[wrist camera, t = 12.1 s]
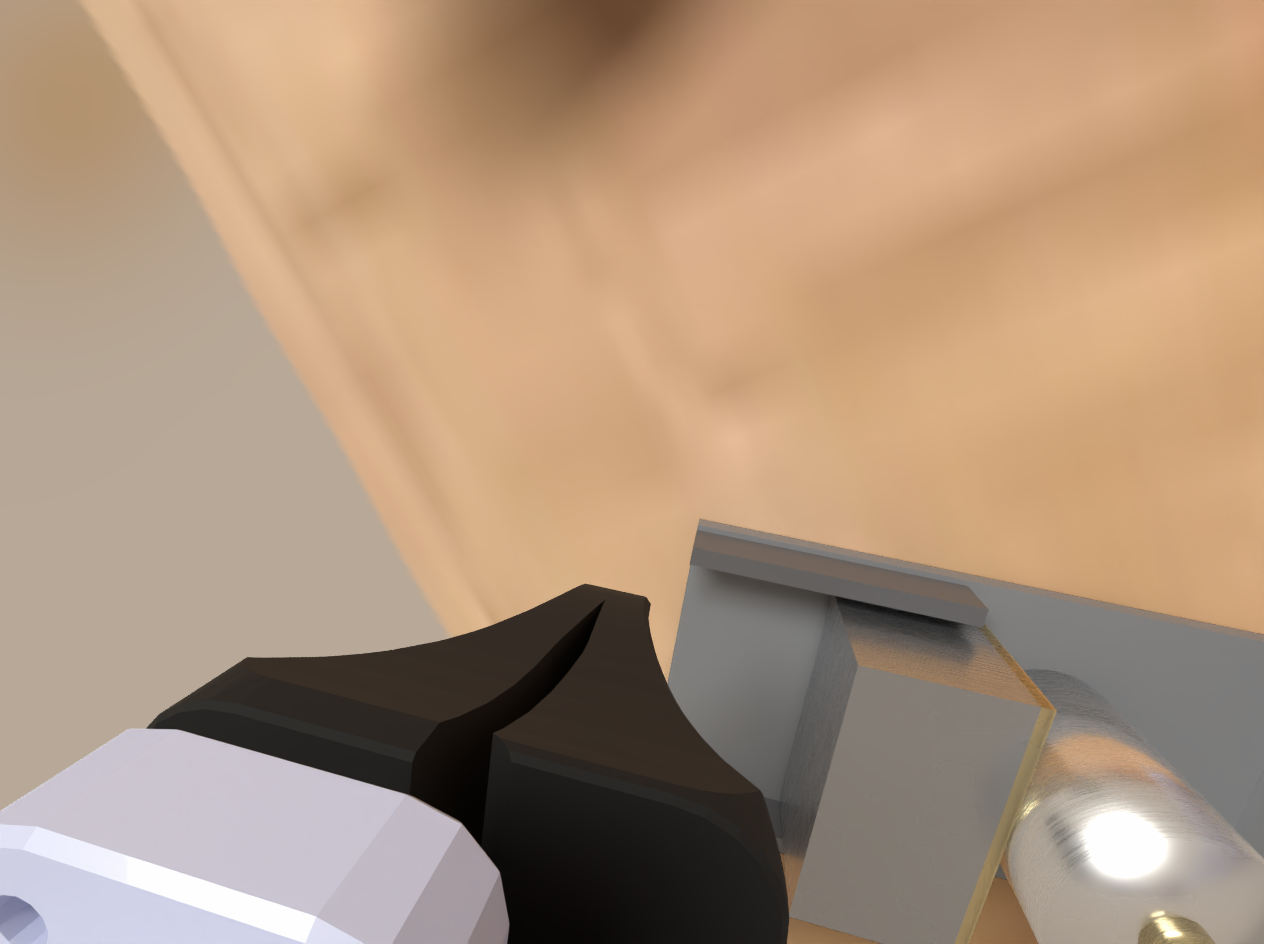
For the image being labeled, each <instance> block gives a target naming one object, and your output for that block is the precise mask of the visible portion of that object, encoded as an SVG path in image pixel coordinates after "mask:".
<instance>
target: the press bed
mask: <svg viewBox="0 0 1264 944" xmlns="http://www.w3.org/2000/svg"><path fill="white" fill-rule="evenodd" d="M832 595H834V596H838V597H843V598H848V599H852V600H857V601H861V602H866V603H871V604H875V605H880V606H885V607H889V608H894V609H899V610H903V611H908V612H913V613H917V614H922V615H926V616H931V617H936V618H940V619H945V620H950V621H954V622H959V623H964V624H968V625H973V626H978V627H982V628H983V626H984V624H986V626H987V627H988V628H989V629H990V631H991V632H992V633H993V634H994V635H995V637H996V638H997V639H998V640H999V641H1000V643H1001V644H1002V645H1003V646H1004V647H1005V649H1006V650H1007V651H1008V652H1009V653H1010V655H1011V656H1012V657H1013V658H1014V659H1015V661H1016V662H1017V663H1018V664H1019V666H1020V667H1021V668H1022V669H1023V670H1026V669H1043V670H1051V671H1057V672H1061V673H1065V674H1068V675H1070V676H1073V677H1076V678H1078V679H1080V680H1082V681H1084V682H1086V683H1087V684H1089V685H1090V686H1092V687H1093V688H1095V689H1096V690H1097V691H1098V692H1099V693H1100V694H1102V695H1103V696H1104V697H1105V698H1106V699H1107V700H1108V701H1109V702H1110V703H1111V704H1112V705H1113V706H1114V707H1115V708H1116V709H1117V710H1118V711H1119V712H1120V713H1121V714H1122V715H1123V716H1124V717H1125V718H1126V719H1127V720H1128V721H1129V722H1130V723H1131V725H1132V726H1133V727H1134V728H1135V729H1136V730H1137V731H1138V732H1139V733H1140V734H1141V735H1142V736H1143V737H1144V738H1145V739H1146V740H1147V741H1148V742H1149V743H1150V744H1151V745H1152V746H1153V747H1154V748H1155V749H1156V750H1157V751H1158V752H1159V753H1160V754H1161V755H1162V756H1163V757H1164V758H1165V759H1166V760H1167V761H1168V762H1169V763H1170V764H1171V765H1172V766H1173V767H1174V768H1175V769H1176V770H1177V771H1178V772H1179V773H1180V774H1181V775H1182V776H1183V777H1184V778H1185V779H1186V780H1187V781H1188V782H1189V783H1190V784H1191V785H1192V786H1193V787H1194V788H1195V789H1196V790H1197V791H1198V792H1199V793H1200V794H1201V795H1202V796H1203V797H1204V798H1205V799H1206V800H1207V801H1208V802H1209V803H1210V804H1211V805H1212V806H1213V807H1214V808H1215V809H1216V810H1217V811H1218V812H1219V813H1220V814H1221V815H1222V816H1223V817H1224V818H1225V820H1226V821H1227V822H1228V823H1229V824H1230V825H1231V826H1232V827H1233V828H1234V829H1235V830H1236V831H1237V832H1238V833H1239V834H1240V835H1241V836H1242V837H1243V838H1244V839H1245V840H1246V841H1247V842H1248V843H1249V844H1250V845H1251V846H1252V847H1253V848H1254V849H1255V850H1256V851H1257V852H1258V853H1259V854H1260V855H1261V856H1262V857H1263V858H1264V635H1263V634H1258V633H1253V632H1249V631H1244V630H1239V629H1234V628H1229V627H1224V626H1219V625H1214V624H1209V623H1205V622H1200V621H1195V620H1190V619H1185V618H1180V617H1175V616H1170V615H1166V614H1161V613H1156V612H1151V611H1146V610H1141V609H1136V608H1131V607H1126V606H1122V605H1117V604H1112V603H1107V602H1102V601H1097V600H1092V599H1087V598H1083V597H1078V596H1073V595H1068V594H1063V593H1058V592H1053V591H1048V590H1043V589H1039V588H1034V587H1029V586H1024V585H1019V584H1014V583H1009V582H1004V581H1000V580H995V579H990V578H985V577H980V576H975V575H970V574H965V573H960V572H956V571H951V570H946V569H941V568H936V567H931V566H926V565H921V564H917V563H912V562H907V561H902V560H897V559H892V558H887V557H882V556H877V555H873V554H868V553H863V552H858V551H853V550H848V549H843V548H838V547H834V546H829V545H824V544H819V543H814V542H809V541H804V540H799V539H794V538H790V537H785V536H780V535H775V534H770V533H765V532H760V531H755V530H751V529H746V528H741V527H736V526H731V525H726V524H721V523H716V522H711V521H707V520H702V519H700V520H699V524H698V529H697V533H696V538H695V542H694V546H693V551H692V556H691V561H690V570H689V575H688V581H687V586H686V591H685V596H684V601H683V606H682V612H681V617H680V622H679V627H678V632H677V637H676V643H675V648H674V653H673V658H672V663H671V668H670V674H669V679H668V686H669V688H670V690H671V692H672V694H673V696H674V698H675V700H676V702H677V703H678V705H679V707H680V708H681V710H682V711H683V713H684V715H685V716H686V717H687V719H688V720H689V721H690V723H691V724H692V725H693V727H694V728H695V729H696V731H697V732H698V733H699V734H700V736H701V737H702V738H703V739H704V740H705V741H706V742H707V743H708V744H709V745H710V746H711V748H712V749H713V750H714V751H715V752H716V753H717V754H718V755H719V756H720V757H721V758H722V759H723V760H724V761H725V762H727V763H728V764H729V765H730V766H732V767H733V768H734V769H735V770H736V771H738V772H739V773H740V774H741V775H742V776H744V777H745V778H746V779H747V780H749V781H750V782H751V783H752V784H753V785H755V786H756V787H757V788H758V789H760V791H761V792H762V794H763V796H764V799H765V802H766V805H767V808H768V811H769V815H770V818H771V821H772V825H773V828H774V832H775V836H776V840H777V844H778V848H779V852H780V853H781V854H784V853H783V839H782V826H781V813H780V800H779V798H780V794H781V790H782V786H783V782H784V778H785V774H786V770H787V767H788V763H789V759H790V755H791V751H792V747H793V743H794V740H795V736H796V732H797V728H798V724H799V720H800V716H801V712H802V709H803V705H804V701H805V697H806V693H807V689H808V685H809V681H810V678H811V674H812V670H813V666H814V662H815V658H816V654H817V650H818V647H819V643H820V639H821V635H822V631H823V627H824V623H825V619H826V616H827V612H828V608H829V604H830V600H831V596H832ZM995 877H998V878H1002V879H1005V880H1008V879H1007V877H1006V875H1005V873H1004V871H1003V869H1002V867H1001V865H1000V864H999V866H998V869H997V872H996V874H995Z"/></svg>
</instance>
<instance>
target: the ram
mask: <svg viewBox="0 0 1264 944" xmlns="http://www.w3.org/2000/svg"><path fill="white" fill-rule="evenodd" d="M1056 712H1057V710H1056V709H1055V708H1054V707H1053V705H1052V704H1051V703H1050V702H1049V701H1048V699H1047V698H1046V697H1045V696H1044V695H1043V693H1042V692H1041V691H1040V690H1039V688H1038V687H1037V686H1036V685H1035V684H1034V682H1033V681H1032V680H1031V679H1030V678H1029V676H1028V675H1027V674H1026V673H1025V672H1024V670H1023V669H1022V668H1021V667H1020V666H1019V664H1018V663H1017V662H1016V661H1015V659H1014V658H1013V657H1012V656H1011V655H1010V653H1009V652H1008V651H1007V650H1006V649H1005V647H1004V646H1003V645H1002V644H1001V643H1000V641H999V640H998V639H997V638H996V637H995V635H994V634H993V633H992V632H991V631H990V629H989V628H988V627H987V626H986V624H984V626H983V628H982V627H978V626H973V625H968V624H964V623H959V622H954V621H950V620H945V619H940V618H936V617H931V616H926V615H922V614H917V613H913V612H908V611H903V610H899V609H894V608H889V607H885V606H880V605H875V604H871V603H866V602H861V601H857V600H852V599H848V598H843V597H838V596H834V595H832V596H831V600H830V604H829V608H828V612H827V616H826V619H825V623H824V627H823V631H822V635H821V639H820V643H819V647H818V650H817V654H816V658H815V662H814V666H813V670H812V674H811V678H810V681H809V685H808V689H807V693H806V697H805V701H804V705H803V709H802V712H801V716H800V720H799V724H798V728H797V732H796V736H795V740H794V743H793V747H792V751H791V755H790V759H789V763H788V767H787V770H786V774H785V778H784V782H783V786H782V790H781V794H780V798H779V800H780V813H781V826H782V839H783V853H784V866H785V879H786V888H787V894H788V906H789V917H791V918H795V919H798V920H802V921H805V922H809V923H812V924H816V925H819V926H823V927H826V928H830V929H833V930H836V931H840V932H843V933H847V934H850V935H854V936H857V937H861V938H864V939H868V940H871V941H875V942H878V943H882V944H969V943H970V941H971V938H972V935H973V933H974V930H975V927H976V925H977V922H978V919H979V917H980V914H981V911H982V909H983V906H984V904H985V901H986V898H987V896H988V893H989V890H990V888H991V885H992V882H993V880H994V877H995V874H996V872H997V869H998V866H999V864H1000V861H1001V858H1002V856H1003V853H1004V850H1005V848H1006V845H1007V842H1008V840H1009V837H1010V834H1011V832H1012V829H1013V826H1014V824H1015V821H1016V818H1017V816H1018V813H1019V810H1020V808H1021V805H1022V802H1023V800H1024V797H1025V795H1026V792H1027V789H1028V787H1029V784H1030V781H1031V779H1032V776H1033V773H1034V771H1035V768H1036V765H1037V763H1038V760H1039V757H1040V755H1041V752H1042V749H1043V747H1044V744H1045V741H1046V739H1047V736H1048V733H1049V731H1050V728H1051V725H1052V723H1053V720H1054V717H1055V715H1056Z"/></svg>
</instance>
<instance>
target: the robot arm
mask: <svg viewBox="0 0 1264 944" xmlns="http://www.w3.org/2000/svg"><path fill="white" fill-rule="evenodd" d="M650 605H651V604H650V602H649V601H648V599H647V598H646V597H644V596H639V595H635V594H630V593H626V592H621V591H617V590H612V589H607V588H603V587H598V586H594V585H589V584H583V585H580V586H578V587H576V588H574V589H572V590H570V591H568V592H566V593H564V594H562V595H560V596H558V597H556V598H554V599H551V600H549V601H547V602H545V603H543V604H541V605H539V606H537V607H535V608H533V609H530V610H528V611H526V612H523V613H521V614H519V615H516V616H514V617H511V618H509V619H506V620H504V621H501V622H499V623H496V624H494V625H491V626H489V627H486V628H483V629H480V630H477V631H474V632H471V633H467V634H464V635H460V636H456V637H453V638H449V639H445V640H441V641H437V642H432V643H427V644H422V645H416V646H411V647H406V648H400V649H395V650H389V651H382V652H373V653H365V654H355V655H343V656H328V657H289V658H252V657H251V658H250V657H247V658H245V659H244V660H242V661H241V662H239V663H238V664H236V665H235V666H233V667H231V668H230V669H228V670H227V671H225V672H224V673H222V674H221V675H219V676H218V677H216V678H214V679H213V680H211V681H210V682H208V683H207V684H205V685H204V686H202V687H201V688H199V689H197V690H196V691H195V692H193V693H191V694H190V695H188V696H187V697H185V698H184V699H182V700H181V701H179V702H177V703H176V704H175V705H173V706H171V707H170V708H168V709H167V710H165V711H164V712H162V713H160V714H159V715H158V716H157V718H155V719H154V720H153V722H152V723H151V724H150V725H149V726H148V727H147V728H146V729H128V730H126V731H124V732H123V733H121V734H120V735H118V736H117V737H115V738H114V739H112V740H110V741H109V742H107V743H106V744H104V745H102V746H101V747H99V748H98V749H97V750H95V751H93V752H92V753H90V754H88V755H87V756H85V757H84V758H82V759H81V760H79V761H77V762H76V763H74V764H73V765H71V766H70V767H68V768H67V769H65V770H63V771H62V772H60V773H59V774H57V775H55V776H54V777H52V778H51V779H49V780H48V781H46V782H44V783H43V784H41V785H40V786H38V787H37V788H35V789H34V790H32V791H30V792H29V793H27V794H26V795H24V796H23V797H21V798H19V799H18V800H16V801H15V802H13V803H12V804H10V805H8V806H7V807H5V808H4V809H3V810H1V811H0V944H787V935H788V925H789V906H788V894H787V888H786V882H785V876H784V871H783V866H782V861H781V856H780V852H779V848H778V844H777V840H776V836H775V832H774V828H773V825H772V821H771V818H770V815H769V811H768V808H767V805H766V802H765V799H764V796H763V794H762V792H761V791H760V789H758V788H757V787H756V786H755V785H753V784H752V783H751V782H750V781H749V780H747V779H746V778H745V777H744V776H742V775H741V774H740V773H739V772H738V771H736V770H735V769H734V768H733V767H732V766H730V765H729V764H728V763H727V762H725V761H724V760H723V759H722V758H721V757H720V756H719V755H718V754H717V753H716V752H715V751H714V750H713V749H712V748H711V746H710V745H709V744H708V743H707V742H706V741H705V740H704V739H703V738H702V737H701V736H700V734H699V733H698V732H697V731H696V729H695V728H694V727H693V725H692V724H691V723H690V721H689V720H688V719H687V717H686V716H685V715H684V713H683V711H682V710H681V708H680V707H679V705H678V703H677V702H676V700H675V698H674V696H673V694H672V692H671V690H670V688H669V686H668V684H667V682H666V680H665V677H664V675H663V673H662V670H661V667H660V665H659V662H658V659H657V656H656V653H655V649H654V645H653V641H652V637H651V633H650V627H649V619H648V617H649V611H650Z"/></svg>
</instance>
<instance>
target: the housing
mask: <svg viewBox="0 0 1264 944" xmlns="http://www.w3.org/2000/svg"><path fill="white" fill-rule="evenodd" d="M1024 672H1025V673H1026V674H1027V675H1028V676H1029V678H1030V679H1031V680H1032V681H1033V682H1034V684H1035V685H1036V686H1037V687H1038V688H1039V690H1040V691H1041V692H1042V693H1043V695H1044V696H1045V697H1046V698H1047V699H1048V701H1049V702H1050V703H1051V704H1052V705H1053V707H1054V708H1055V709H1056V710H1057V712H1056V715H1055V717H1054V720H1053V723H1052V725H1051V728H1050V731H1049V733H1048V736H1047V739H1046V741H1045V744H1044V747H1043V749H1042V752H1041V755H1040V757H1039V760H1038V763H1037V765H1036V768H1035V771H1034V773H1033V776H1032V779H1031V781H1030V784H1029V787H1028V789H1027V792H1026V795H1025V797H1024V800H1023V802H1022V805H1021V808H1020V810H1019V813H1018V816H1017V818H1016V821H1015V824H1014V826H1013V829H1012V832H1011V834H1010V837H1009V840H1008V842H1007V845H1006V848H1005V850H1004V853H1003V856H1002V858H1001V861H1000V865H1001V867H1002V869H1003V871H1004V873H1005V875H1006V877H1007V879H1008V881H1009V884H1010V886H1011V888H1012V890H1013V892H1014V894H1015V896H1016V898H1017V900H1018V902H1019V904H1020V906H1021V908H1022V911H1023V913H1024V915H1025V917H1026V919H1027V921H1028V923H1029V925H1030V927H1031V929H1032V931H1033V933H1034V935H1035V938H1036V940H1037V942H1038V944H1264V858H1263V857H1262V856H1261V855H1260V854H1259V853H1258V852H1257V851H1256V850H1255V849H1254V848H1253V847H1252V846H1251V845H1250V844H1249V843H1248V842H1247V841H1246V840H1245V839H1244V838H1243V837H1242V836H1241V835H1240V834H1239V833H1238V832H1237V831H1236V830H1235V829H1234V828H1233V827H1232V826H1231V825H1230V824H1229V823H1228V822H1227V821H1226V820H1225V818H1224V817H1223V816H1222V815H1221V814H1220V813H1219V812H1218V811H1217V810H1216V809H1215V808H1214V807H1213V806H1212V805H1211V804H1210V803H1209V802H1208V801H1207V800H1206V799H1205V798H1204V797H1203V796H1202V795H1201V794H1200V793H1199V792H1198V791H1197V790H1196V789H1195V788H1194V787H1193V786H1192V785H1191V784H1190V783H1189V782H1188V781H1187V780H1186V779H1185V778H1184V777H1183V776H1182V775H1181V774H1180V773H1179V772H1178V771H1177V770H1176V769H1175V768H1174V767H1173V766H1172V765H1171V764H1170V763H1169V762H1168V761H1167V760H1166V759H1165V758H1164V757H1163V756H1162V755H1161V754H1160V753H1159V752H1158V751H1157V750H1156V749H1155V748H1154V747H1153V746H1152V745H1151V744H1150V743H1149V742H1148V741H1147V740H1146V739H1145V738H1144V737H1143V736H1142V735H1141V734H1140V733H1139V732H1138V731H1137V730H1136V729H1135V728H1134V727H1133V726H1132V725H1131V723H1130V722H1129V721H1128V720H1127V719H1126V718H1125V717H1124V716H1123V715H1122V714H1121V713H1120V712H1119V711H1118V710H1117V709H1116V708H1115V707H1114V706H1113V705H1112V704H1111V703H1110V702H1109V701H1108V700H1107V699H1106V698H1105V697H1104V696H1103V695H1102V694H1100V693H1099V692H1098V691H1097V690H1096V689H1095V688H1093V687H1092V686H1090V685H1089V684H1087V683H1086V682H1084V681H1082V680H1080V679H1078V678H1076V677H1073V676H1070V675H1068V674H1065V673H1061V672H1057V671H1051V670H1043V669H1026V670H1024Z"/></svg>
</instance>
